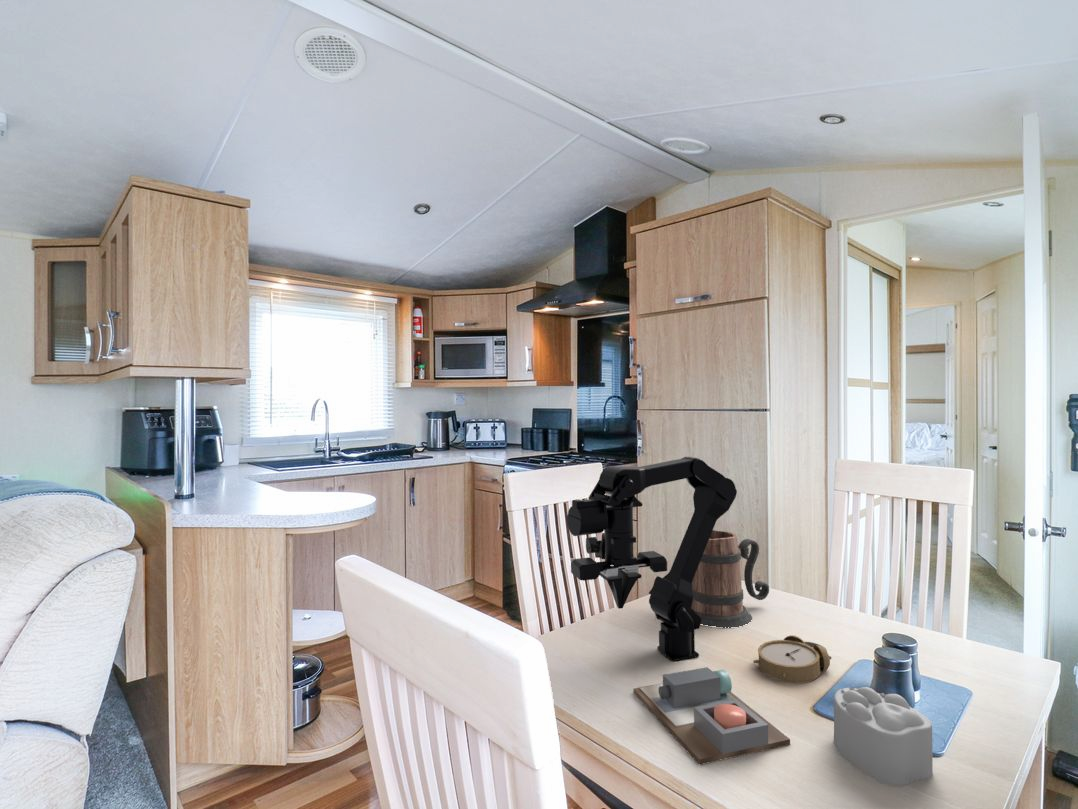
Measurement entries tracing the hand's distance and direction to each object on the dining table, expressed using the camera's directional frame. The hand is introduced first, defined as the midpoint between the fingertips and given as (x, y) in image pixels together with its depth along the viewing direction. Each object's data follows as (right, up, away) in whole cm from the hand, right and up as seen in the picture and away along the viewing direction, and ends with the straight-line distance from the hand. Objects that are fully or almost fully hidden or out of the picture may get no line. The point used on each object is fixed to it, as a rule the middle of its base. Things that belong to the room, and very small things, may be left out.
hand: (619, 607), depth 118 cm
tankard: (+30, -11, +28) cm, 43 cm away
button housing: (+14, -12, -25) cm, 31 cm away
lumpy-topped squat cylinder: (+34, -12, -29) cm, 47 cm away
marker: (+11, -11, -14) cm, 21 cm away
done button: (+14, -11, -25) cm, 31 cm away
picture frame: (+12, -12, -18) cm, 25 cm away
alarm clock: (+35, -12, -1) cm, 37 cm away
